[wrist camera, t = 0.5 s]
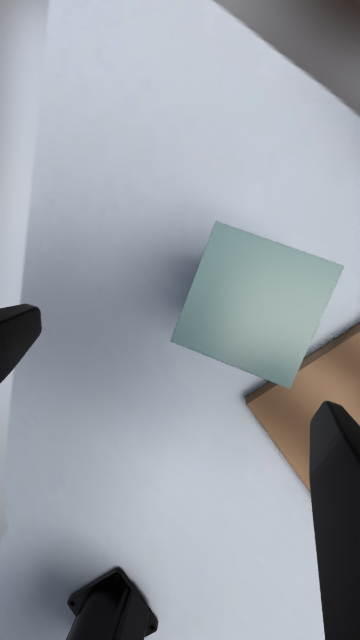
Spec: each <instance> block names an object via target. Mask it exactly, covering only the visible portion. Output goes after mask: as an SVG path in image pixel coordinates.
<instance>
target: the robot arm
mask: <svg viewBox="0 0 360 640" xmlns="http://www.w3.org/2000/svg"><path fill="white" fill-rule="evenodd" d="M41 330H42V326H41V313H40V309H39V308H38V307H36V306H33V305H30V304H21V305H16V306H11V307H6V308H0V383H1V382H2V381H3V380H4V379H5V378H6V377H7V376H8V374H9V373H10V372H11V371H12V370H13V369H14V368H15V366H16V365H17V364H18V363H19V361H20V360H21V359H22V357H23V356H24V355H25V354H26V352H27V351H28V350H29V348H30V347H31V346H32V344H33V343H34V342H35V341H36V339H37V338H38V337H39V335H40V333H41ZM309 481H310V492H311V502H312V512H313V522H314V532H315V542H316V552H317V562H318V572H319V582H320V592H321V602H322V612H323V622H324V632H325V640H360V425H359V424H358V423H357V422H356V421H355V420H354V419H353V418H352V416H351V415H350V414H349V413H348V412H347V411H346V410H345V409H344V407H343V406H342V405H340V404H338V403H334V402H331V401H328V400H327V401H324V402H323V403H322V404H321V406H320V407H319V408H318V410H317V411H316V413H315V414H314V416H313V417H312V419H311V422H310V441H309ZM117 575H118V576H117ZM67 603H68V606H69V607H70V609H71V610H72V612H73V613H74V614H75V616H76V618H75V620H74V623H73V625H72V627H71V629H70V632H69V634H68V636H67V638H66V640H144V637H146V636H148V635H150V634H152V633H154V632H156V631H157V628H158V621H157V619H156V618H155V616H154V615H153V613H152V612H151V611H150V609H149V608H148V606H147V605H146V603H145V602H144V601H143V599H142V598H141V596H140V595H139V594H138V592H137V591H136V589H135V588H134V587H133V585H132V584H131V582H130V581H129V580H128V578H127V577H126V575H125V574H124V573H123V571H122V570H121V569H114V570H113V571H111V572H109V573H108V574H106V575H104V576H103V577H101V578H99V579H97V580H96V581H94V582H92V583H91V584H89V585H87V586H85V587H84V588H82V589H80V590H79V591H77V592H75V593H74V594H72V595H71V596H70V597H69V599H68V602H67Z"/></svg>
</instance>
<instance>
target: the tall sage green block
mask: <svg viewBox="0 0 360 640" xmlns="http://www.w3.org/2000/svg"><path fill="white" fill-rule="evenodd" d="M343 268H344V266H343V265H340V264H337V263H335V262H332V261H329V260H326V259H323V258H320V257H317V256H315V255H312V254H309V253H306V252H303V251H300V250H297V249H295V248H292V247H289V246H286V245H283V244H280V243H277V242H274V241H272V240H269V239H266V238H263V237H260V236H257V235H254V234H252V233H249V232H246V231H243V230H240V229H237V228H234V227H232V226H229V225H226V224H223V223H220V222H217V221H216V222H215V224H214V227H213V230H212V232H211V235H210V238H209V240H208V243H207V246H206V248H205V251H204V253H203V256H202V259H201V261H200V264H199V267H198V269H197V272H196V275H195V277H194V280H193V283H192V285H191V288H190V291H189V293H188V296H187V299H186V301H185V304H184V307H183V309H182V312H181V315H180V317H179V320H178V323H177V325H176V328H175V331H174V333H173V336H172V339H171V342H173V343H176V344H178V345H181V346H183V347H186V348H188V349H191V350H193V351H196V352H198V353H201V354H203V355H206V356H208V357H211V358H213V359H216V360H218V361H221V362H223V363H226V364H228V365H231V366H233V367H236V368H238V369H241V370H243V371H246V372H249V373H251V374H254V375H256V376H259V377H261V378H264V379H266V380H269V381H271V382H274V383H276V384H279V385H281V386H284V387H286V388H289V389H290V388H291V386H292V383H293V381H294V379H295V377H296V374H297V372H298V370H299V368H300V365H301V363H302V361H303V359H304V356H305V354H306V352H307V349H308V347H309V345H310V343H311V340H312V338H313V336H314V334H315V331H316V329H317V327H318V324H319V322H320V320H321V318H322V315H323V313H324V311H325V309H326V306H327V304H328V302H329V300H330V297H331V295H332V293H333V290H334V288H335V286H336V284H337V281H338V279H339V277H340V275H341V272H342V270H343Z"/></svg>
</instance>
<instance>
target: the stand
mask: <svg viewBox="0 0 360 640" xmlns="http://www.w3.org/2000/svg"><path fill="white" fill-rule="evenodd" d="M245 400H246V404H247V406H248V407H249V409H250V410H251V411H252V413H253V414H254V415H255V417H256V418H257V420H258V421H259V422H260V424H261V425H262V426H263V428H264V429H265V431H266V432H267V433H268V435H269V436H270V438H271V439H272V440H273V442H274V443H275V444H276V446H277V447H278V449H279V450H280V451H281V453H282V454H283V455H284V457H285V458H286V460H287V461H288V462H289V464H290V465H291V466H292V468H293V469H294V471H295V472H296V473H297V475H298V476H299V477H300V479H301V480H302V482H303V483H304V484H305V486H306V487H307V488H308V490H309V491H310V481H309V441H310V422H311V419H312V417H313V416H314V414H315V413H316V411H317V410H318V408H319V407H320V406H321V404H322V403H323V402H324V401H327V400H328V401H331V402H334V403H338V404H340V405H342V406H343V407H344V409H345V410H346V411H347V412H348V413H349V414H350V415H351V416H352V418H353V419H354V420H355V421H356V422H357V423H358V424H359V425H360V323H359V324H357V325H356V326H354V327H353V328H351V329H349V330H348V331H346V332H345V333H343V334H342V335H340V336H339V337H337V338H336V339H334V340H333V341H331V342H329V343H328V344H326V345H325V346H323V347H322V348H320V349H319V350H317V351H316V352H314V353H312V354H311V355H309V356H308V357H306V358H305V359H303V361H302V363H301V365H300V368H299V370H298V372H297V374H296V377H295V379H294V381H293V383H292V386H291V388H290V389H289V388H286V387H284V386H281V385H279V384H276V383H274V382H271V381H269V382H268V383H266V384H265V385H263V386H262V387H260V388H258V389H257V390H255V391H254V392H252V393H251V394H249V395H248V396H246V397H245ZM310 493H311V492H310Z"/></svg>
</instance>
